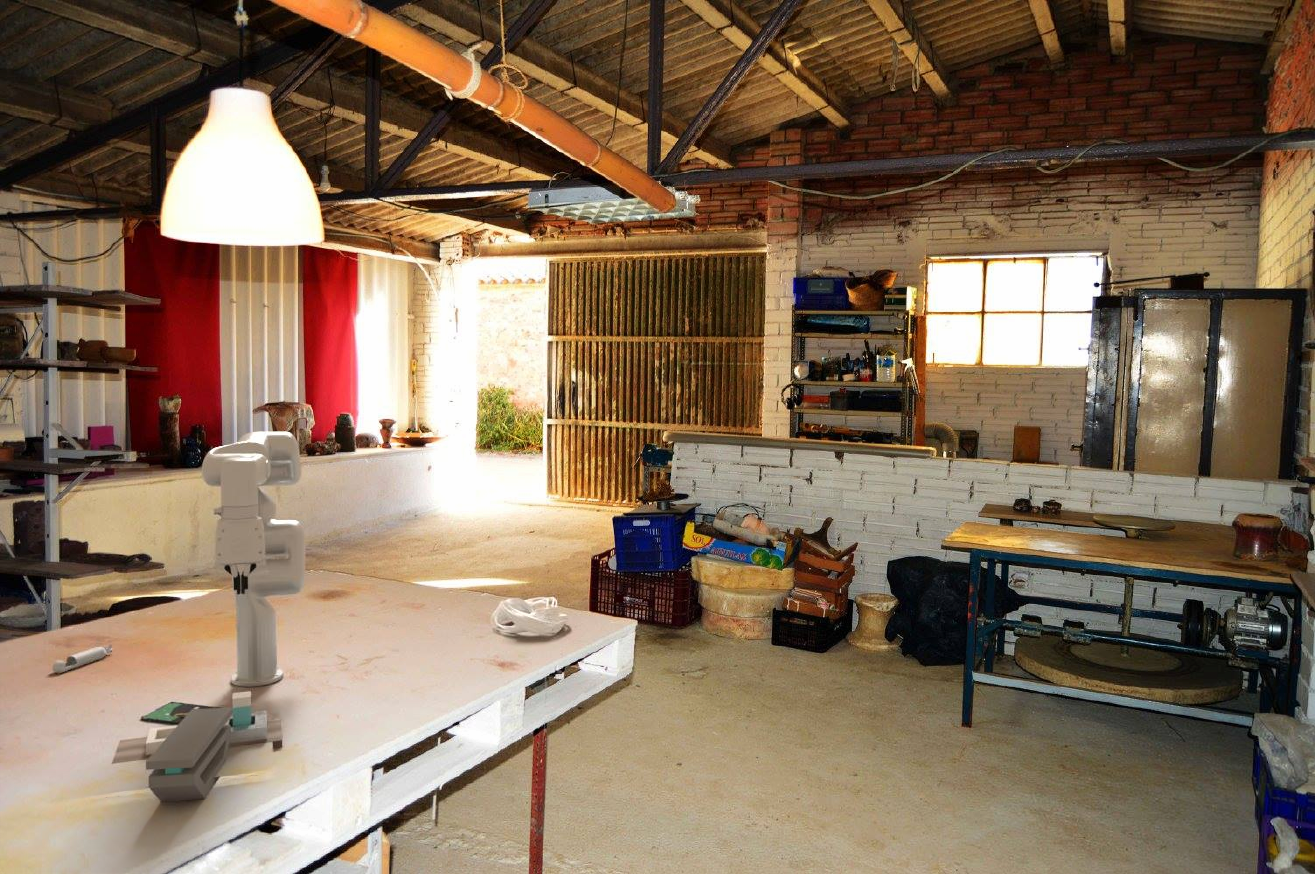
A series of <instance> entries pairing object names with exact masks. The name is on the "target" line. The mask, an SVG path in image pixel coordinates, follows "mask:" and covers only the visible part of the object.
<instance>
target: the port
mask: <svg viewBox="0 0 1315 874" xmlns="http://www.w3.org/2000/svg"><path fill="white" fill-rule="evenodd" d="M267 716H268V711H267V710H257V711H251V725H246V726H238V727H233V714H232V716H231V717H230V718H229V720H228V721H227V722H226V724H225V725H231V737H230V742H229V745H237V744H244V743H251V742H259V741H266V740H267V722H268V717H267Z"/></svg>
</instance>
